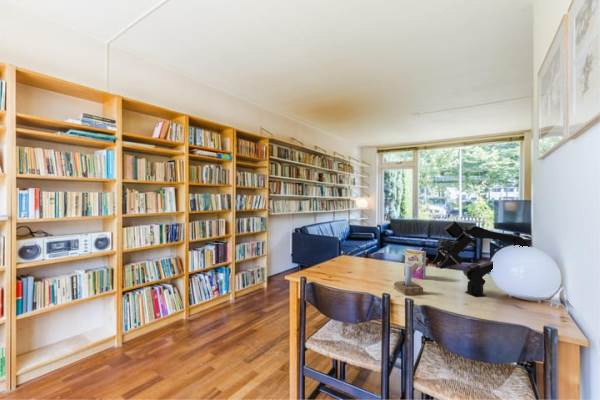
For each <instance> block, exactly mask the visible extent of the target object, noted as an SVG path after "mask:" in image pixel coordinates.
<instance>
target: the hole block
mask: <svg viewBox="0 0 600 400" xmlns="http://www.w3.org/2000/svg"><path fill="white" fill-rule="evenodd" d="M413 282H414V281H412V282H411V287H406V286H405V282H398V283H396V282H394V283H393V290H395V291H397V292H399V293H400V294H402V295H404V296H413V295H424V287H422V285H421V286H419V285H420V284H419V285H417V284H418V283H417V284H415V283H416V282H414V283H413Z"/></svg>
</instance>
